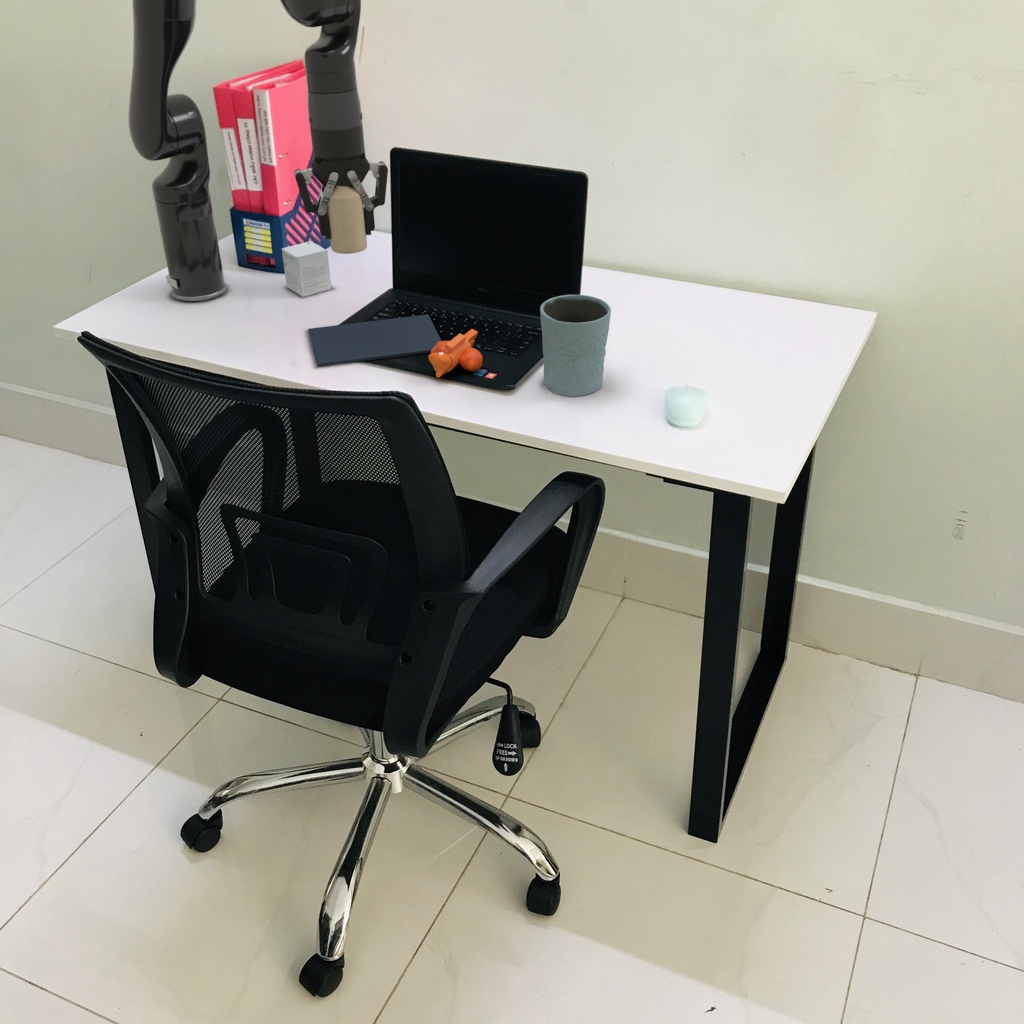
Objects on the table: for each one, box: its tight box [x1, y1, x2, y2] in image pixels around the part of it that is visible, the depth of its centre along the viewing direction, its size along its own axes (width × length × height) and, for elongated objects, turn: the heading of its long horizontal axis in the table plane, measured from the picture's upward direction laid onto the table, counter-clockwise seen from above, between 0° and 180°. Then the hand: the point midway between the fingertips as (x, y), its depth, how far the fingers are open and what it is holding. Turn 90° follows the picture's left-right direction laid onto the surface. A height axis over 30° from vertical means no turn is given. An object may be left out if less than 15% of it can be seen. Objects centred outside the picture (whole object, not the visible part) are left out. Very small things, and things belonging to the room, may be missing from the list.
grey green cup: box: [539, 294, 612, 397], centre depth 162 cm, size 10×10×12 cm
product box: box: [281, 240, 332, 298], centre depth 197 cm, size 6×6×7 cm
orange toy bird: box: [427, 328, 483, 378], centre depth 169 cm, size 5×8×12 cm
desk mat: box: [307, 314, 442, 368], centre depth 179 cm, size 14×20×1 cm
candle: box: [326, 186, 368, 255], centre depth 168 cm, size 6×6×10 cm
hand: (347, 235), depth 170 cm, fingers closed on candle, 5 cm apart
